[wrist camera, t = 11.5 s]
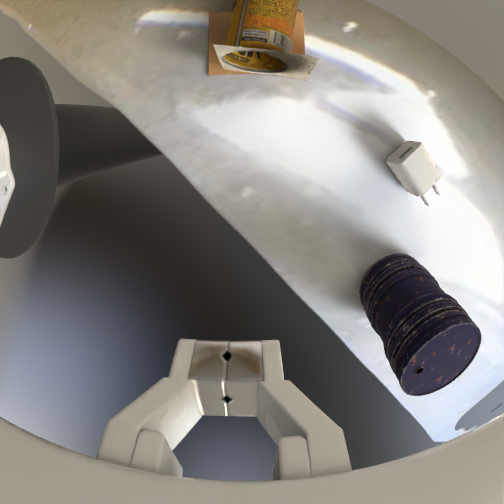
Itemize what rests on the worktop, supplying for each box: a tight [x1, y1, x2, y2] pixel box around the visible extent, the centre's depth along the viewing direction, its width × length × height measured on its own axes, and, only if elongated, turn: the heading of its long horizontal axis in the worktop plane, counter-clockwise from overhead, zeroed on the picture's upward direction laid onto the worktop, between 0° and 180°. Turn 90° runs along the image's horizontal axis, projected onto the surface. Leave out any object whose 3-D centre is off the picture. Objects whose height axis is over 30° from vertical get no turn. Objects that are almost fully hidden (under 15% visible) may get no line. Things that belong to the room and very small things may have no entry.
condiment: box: [213, 0, 319, 81], centre depth 19 cm, size 7×8×12 cm
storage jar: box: [360, 254, 481, 396], centre depth 27 cm, size 10×10×15 cm
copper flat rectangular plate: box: [208, 11, 305, 75], centre depth 23 cm, size 8×10×1 cm
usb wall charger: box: [386, 141, 441, 206], centre depth 26 cm, size 4×7×4 cm, turn 45°
